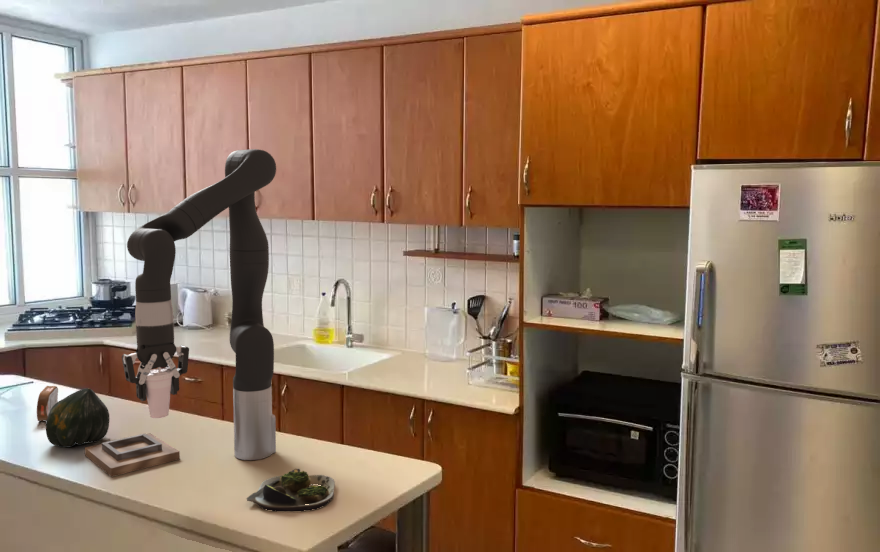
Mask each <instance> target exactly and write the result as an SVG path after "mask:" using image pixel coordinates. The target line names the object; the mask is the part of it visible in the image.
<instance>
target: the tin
mask: <svg viewBox="0 0 880 552" xmlns="http://www.w3.org/2000/svg"><path fill="white" fill-rule="evenodd" d="M58 393H59V388H58V386H57V385H46V386H45V387H44V388H43V389H42V391H40V393H39V395H38V398H37V404H36V419H37V421H38V422H46V420H47V418H48V415H49V412H50V410H51V408H52V407H53V406H54V405H55V404H56V403H57V402H59V401H58V396H59V394H58Z"/></svg>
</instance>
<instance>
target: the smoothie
mask: <svg viewBox="0 0 880 552" xmlns="http://www.w3.org/2000/svg"><path fill="white" fill-rule="evenodd" d="M172 376H173V371H170V370H167V369H166V368H162V367H158V368H156V369H151V371H150V373H149V375H147V376H146V377H147V378H146V380H145V382H144V384H146V401H147V405H148V409H149V415H150V416H149V417H150V418H152V419H161V418H162V419H163V418H166V417H168V416H169V414H170V413H169V412H170V401H171V393H170V391H171V379H172Z"/></svg>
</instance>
